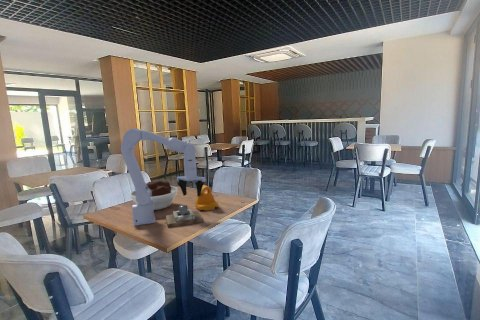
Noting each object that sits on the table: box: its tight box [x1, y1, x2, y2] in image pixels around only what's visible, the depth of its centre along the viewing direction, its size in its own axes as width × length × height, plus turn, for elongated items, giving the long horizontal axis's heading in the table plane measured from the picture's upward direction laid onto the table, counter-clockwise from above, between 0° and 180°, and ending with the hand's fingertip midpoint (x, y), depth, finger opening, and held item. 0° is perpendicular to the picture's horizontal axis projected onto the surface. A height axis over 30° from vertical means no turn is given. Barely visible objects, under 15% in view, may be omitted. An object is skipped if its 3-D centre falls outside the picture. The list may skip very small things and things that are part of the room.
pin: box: [178, 204, 189, 216], centre depth 123 cm, size 4×4×7 cm
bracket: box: [194, 184, 219, 211], centre depth 139 cm, size 11×7×12 cm, turn 119°
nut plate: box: [165, 208, 204, 228], centre depth 123 cm, size 16×12×4 cm
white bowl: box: [129, 180, 179, 211], centre depth 143 cm, size 25×25×15 cm
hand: (192, 195), depth 127 cm, fingers open, 7 cm apart
